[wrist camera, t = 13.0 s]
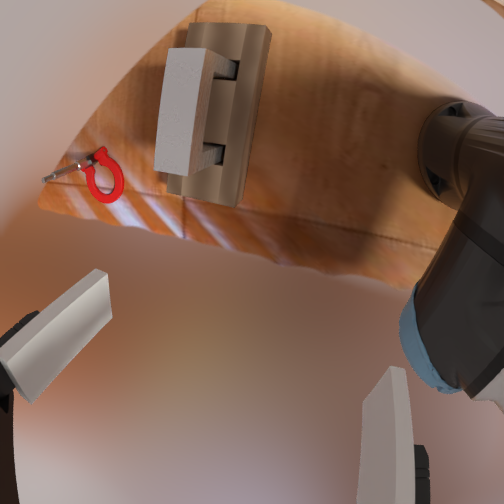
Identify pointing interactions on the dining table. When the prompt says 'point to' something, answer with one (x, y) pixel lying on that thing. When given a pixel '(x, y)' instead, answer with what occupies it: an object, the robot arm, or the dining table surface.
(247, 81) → the slotted wooden block
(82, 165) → the tow hook
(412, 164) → the dining table surface
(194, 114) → the clip
